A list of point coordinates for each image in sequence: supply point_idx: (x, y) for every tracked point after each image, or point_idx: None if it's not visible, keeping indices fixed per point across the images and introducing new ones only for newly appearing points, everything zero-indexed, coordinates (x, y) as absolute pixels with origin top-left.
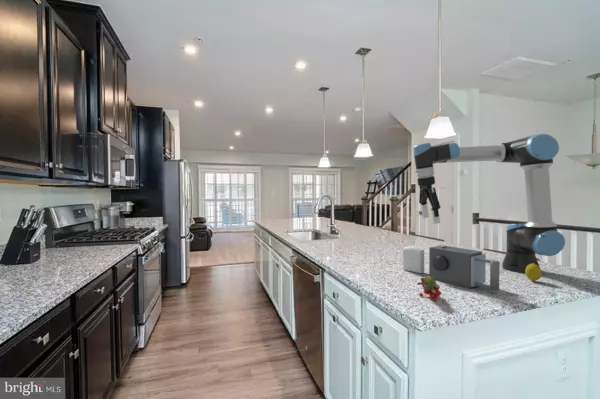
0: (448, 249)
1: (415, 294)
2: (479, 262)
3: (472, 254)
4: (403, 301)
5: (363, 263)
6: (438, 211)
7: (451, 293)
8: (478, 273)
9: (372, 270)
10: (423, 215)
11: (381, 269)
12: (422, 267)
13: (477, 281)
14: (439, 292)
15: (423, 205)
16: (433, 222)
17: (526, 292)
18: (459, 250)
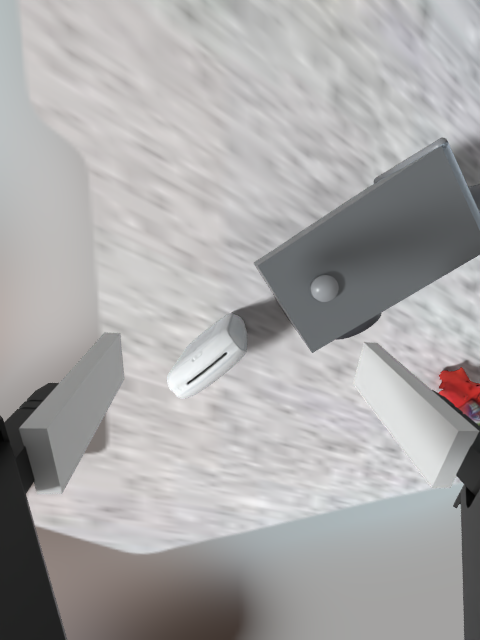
0: (369, 289)
1: None
2: None
3: (476, 230)
4: None
5: (119, 461)
6: (451, 410)
7: (431, 325)
8: None
9: (204, 455)
10: (115, 390)
11: (192, 427)
12: (244, 328)
13: None
14: (467, 376)
15: (61, 472)
16: (360, 389)
17: (464, 92)
18: (400, 250)
